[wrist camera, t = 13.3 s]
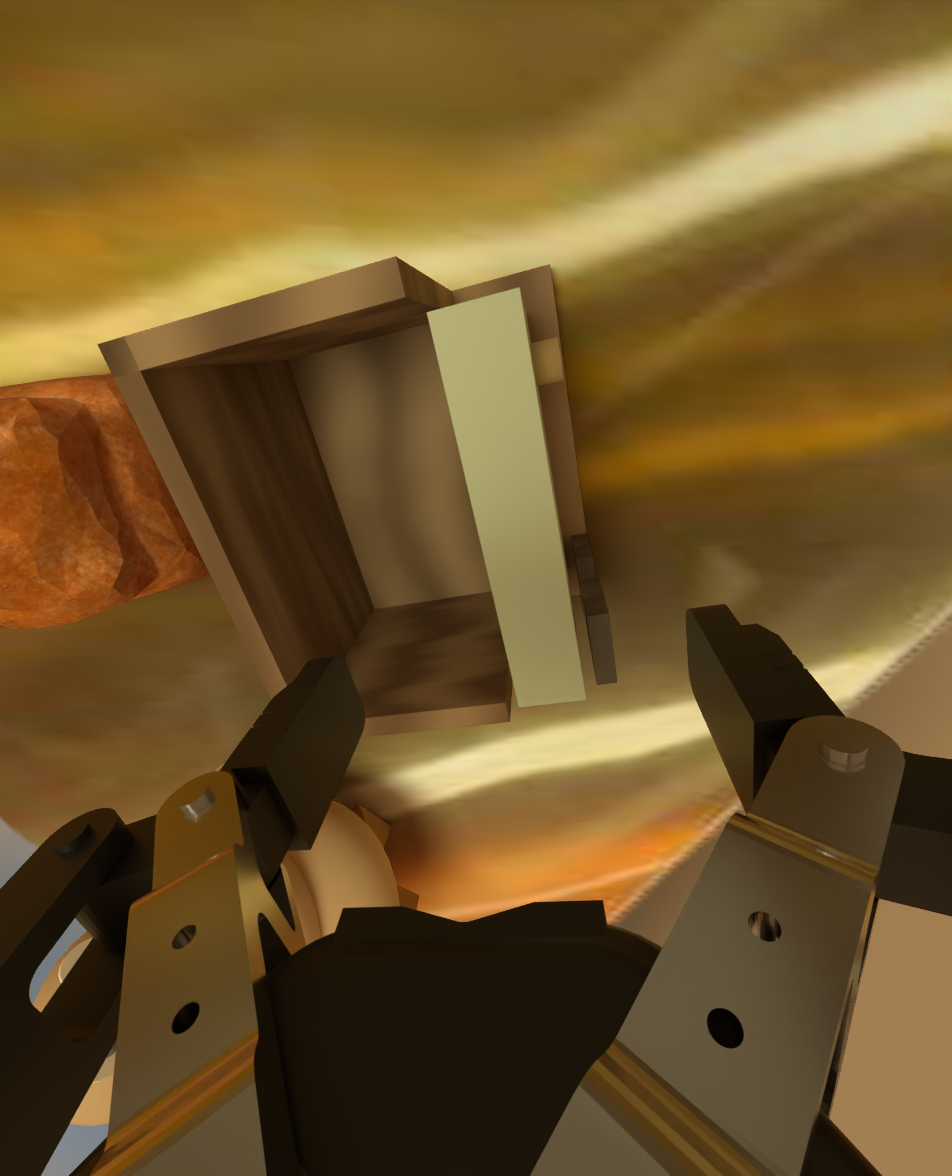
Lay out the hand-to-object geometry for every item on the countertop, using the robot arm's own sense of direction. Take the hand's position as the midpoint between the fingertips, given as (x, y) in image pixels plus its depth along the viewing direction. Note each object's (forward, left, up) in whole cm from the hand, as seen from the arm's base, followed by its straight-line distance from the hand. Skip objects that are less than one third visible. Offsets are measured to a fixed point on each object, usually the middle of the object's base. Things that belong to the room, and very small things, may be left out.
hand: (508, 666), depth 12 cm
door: (0, 0, -22) cm, 22 cm away
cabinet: (+6, 0, -24) cm, 24 cm away
